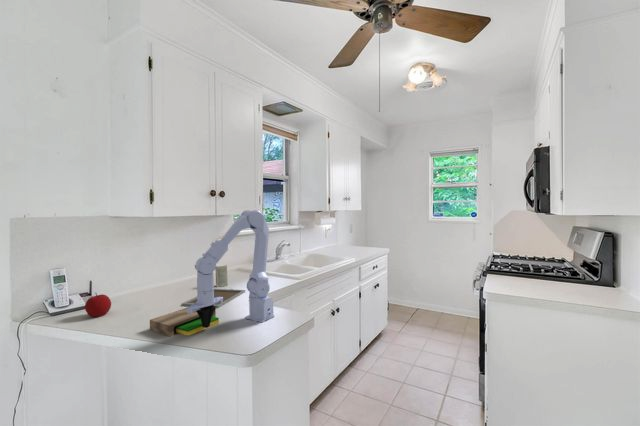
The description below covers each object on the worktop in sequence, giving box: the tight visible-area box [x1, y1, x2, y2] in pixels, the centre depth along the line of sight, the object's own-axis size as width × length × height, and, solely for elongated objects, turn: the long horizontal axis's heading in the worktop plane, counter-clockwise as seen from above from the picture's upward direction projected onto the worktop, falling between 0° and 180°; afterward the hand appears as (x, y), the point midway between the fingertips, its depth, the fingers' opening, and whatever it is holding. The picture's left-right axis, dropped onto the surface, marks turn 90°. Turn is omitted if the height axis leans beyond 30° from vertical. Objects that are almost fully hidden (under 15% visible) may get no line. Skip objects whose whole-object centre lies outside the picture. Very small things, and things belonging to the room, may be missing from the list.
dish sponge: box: [175, 316, 220, 336], centre depth 111 cm, size 7×14×2 cm, turn 149°
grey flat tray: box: [180, 288, 246, 309], centre depth 150 cm, size 19×2×30 cm
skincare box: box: [214, 264, 229, 288], centre depth 174 cm, size 6×4×12 cm
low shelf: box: [149, 307, 217, 337], centre depth 114 cm, size 12×20×4 cm, turn 150°
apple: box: [84, 292, 112, 318], centre depth 126 cm, size 9×9×10 cm
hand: (206, 326), depth 108 cm, fingers closed
